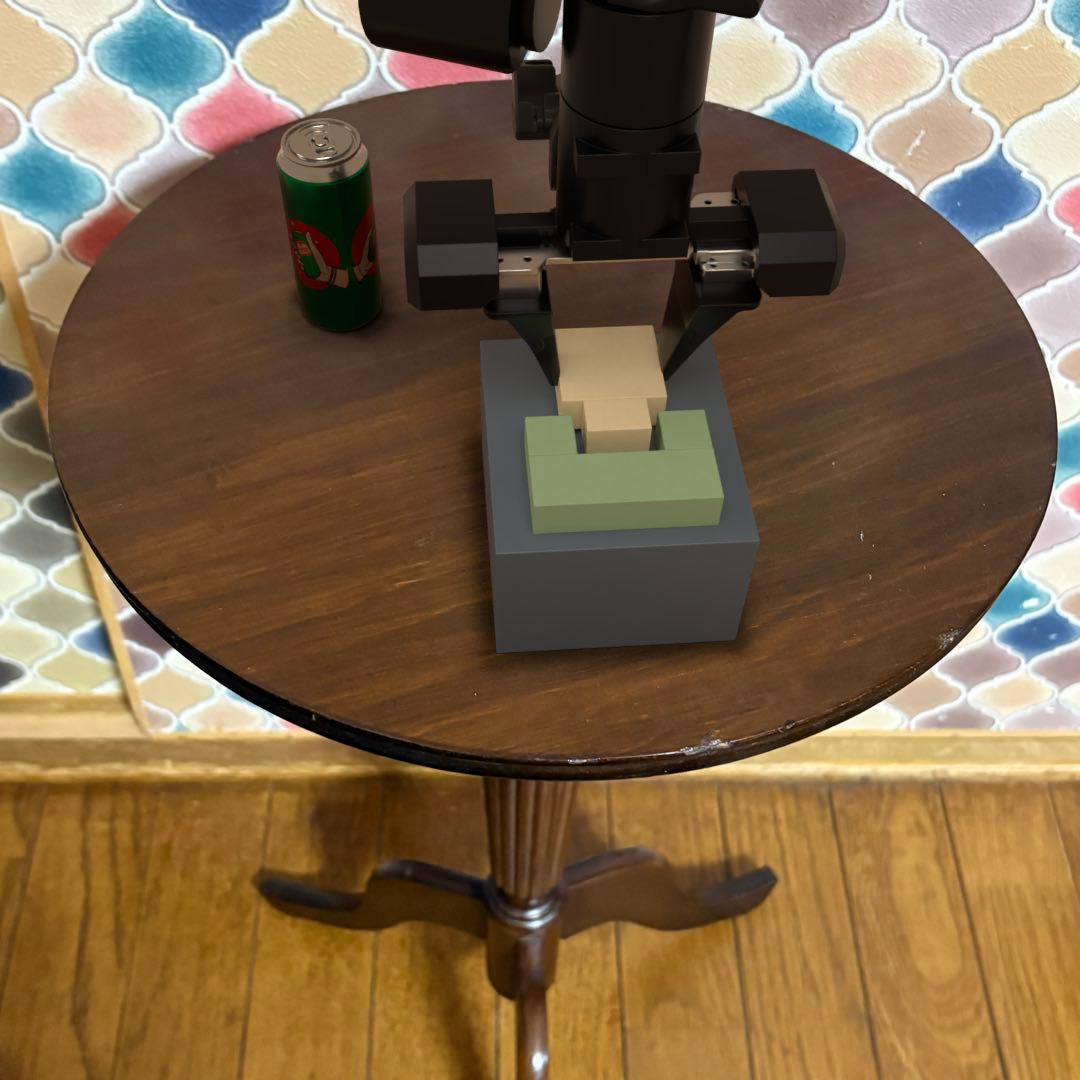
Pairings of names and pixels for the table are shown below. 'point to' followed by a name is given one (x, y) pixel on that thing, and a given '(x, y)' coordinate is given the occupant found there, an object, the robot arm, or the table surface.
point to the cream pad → (611, 385)
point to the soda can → (331, 223)
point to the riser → (608, 556)
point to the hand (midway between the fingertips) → (608, 377)
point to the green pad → (622, 478)
